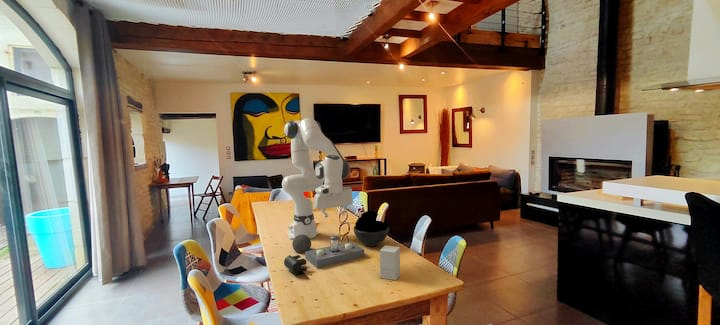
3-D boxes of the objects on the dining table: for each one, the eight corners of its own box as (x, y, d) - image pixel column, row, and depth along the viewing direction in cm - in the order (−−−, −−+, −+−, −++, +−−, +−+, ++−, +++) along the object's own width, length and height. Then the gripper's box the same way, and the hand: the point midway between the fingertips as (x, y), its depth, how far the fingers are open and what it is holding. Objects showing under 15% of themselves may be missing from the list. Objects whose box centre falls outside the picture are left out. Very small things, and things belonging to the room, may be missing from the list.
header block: (305, 261, 164) (305, 248, 163) (350, 250, 178) (350, 239, 177) (317, 271, 152) (316, 257, 152) (364, 259, 166) (364, 246, 165)
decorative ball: (297, 249, 182) (296, 231, 181) (314, 250, 180) (313, 232, 179) (289, 255, 172) (288, 237, 171) (307, 256, 170) (307, 238, 169)
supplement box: (400, 274, 148) (400, 246, 147) (395, 280, 141) (395, 252, 140) (385, 271, 151) (385, 244, 150) (379, 278, 144) (379, 250, 143)
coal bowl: (381, 237, 200) (380, 207, 198) (394, 248, 181) (394, 214, 179) (349, 241, 194) (349, 210, 192) (360, 252, 175) (359, 218, 173)
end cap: (284, 270, 154) (283, 256, 153) (298, 266, 158) (297, 253, 157) (292, 277, 145) (292, 263, 145) (307, 273, 150) (306, 259, 149)
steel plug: (329, 257, 166) (328, 236, 165) (336, 255, 168) (336, 235, 167) (333, 260, 162) (332, 238, 161) (341, 258, 164) (340, 237, 163)
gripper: (348, 185, 170) (349, 211, 171) (312, 189, 159) (312, 217, 160) (354, 187, 165) (355, 214, 166) (317, 191, 154) (318, 220, 155)
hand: (334, 215), depth 163 cm, fingers open, 8 cm apart
